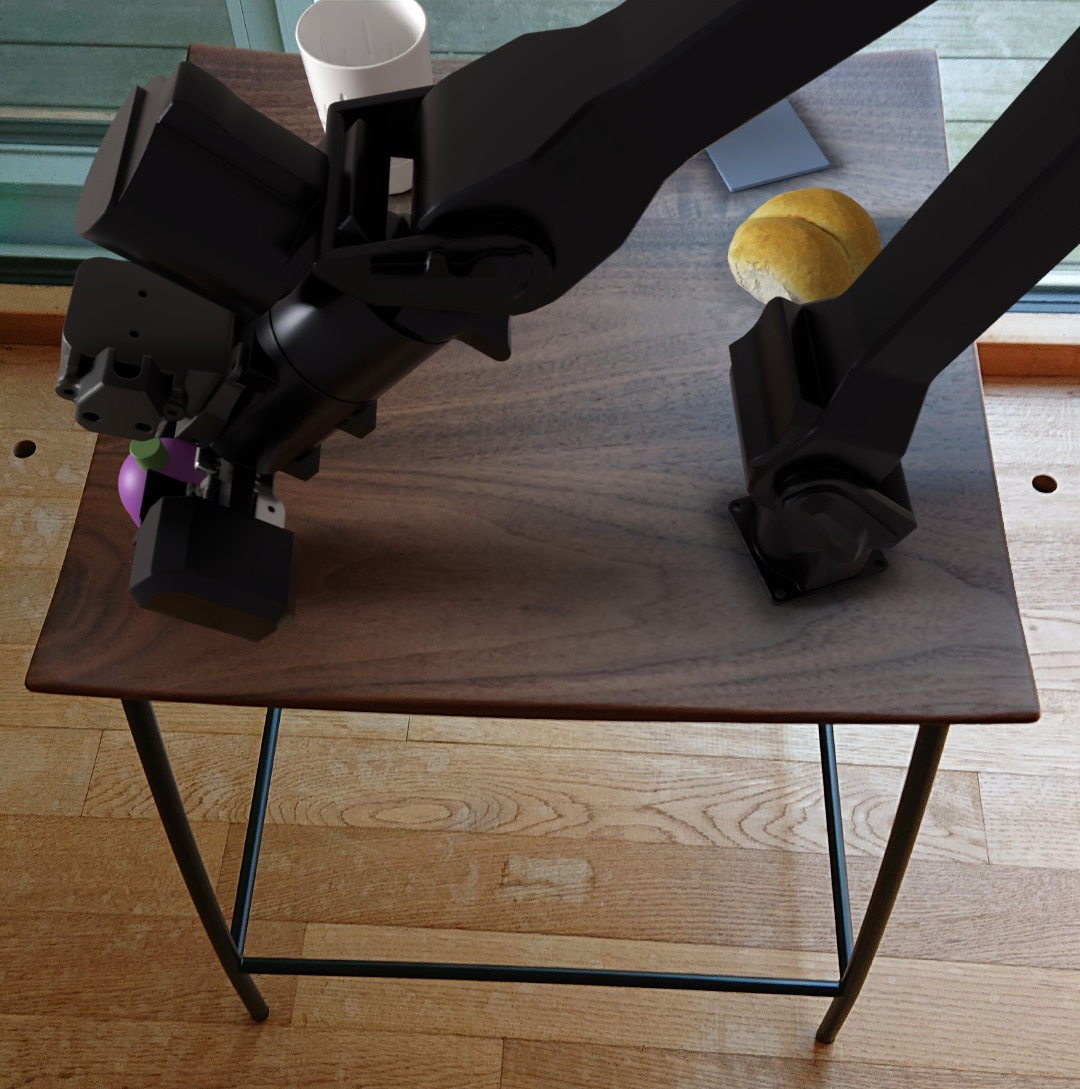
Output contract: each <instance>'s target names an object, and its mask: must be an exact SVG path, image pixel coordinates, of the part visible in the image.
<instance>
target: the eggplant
mask: <svg viewBox="0 0 1080 1089" xmlns="http://www.w3.org/2000/svg"><path fill="white" fill-rule="evenodd" d="M196 450H197V447H196V446H193V445H191V444H189V443H186V442H184V441H181V440H179V439H175V438H159V437H158V436H157V437H156V438H154V439H151V440H147V441H136V440H132V441H131V442H130V445H129V454H128V456H127V457H126V459H125V460H124V462H123V464H122V465H121V467H120V471H119V475H118V481H117V482H118V483H117V484H118V485H117V486H118V493H119V497H120V500H121V503H122V505H123V507H124V508H125V510H126V511H127V513H128V514H129V516H130V518H131V519H132V520H133V522H134V524H135V525H136V526H137V529H138V528H139V527H140V523H139V514H140V508H141V503H142V497H143V492H144V486H145V480H146V475H147V470H148V469H151V470H154V471H157V472H159V473H162V474H165V475H167V476H170V477H172V478H175V479H178V480H180V481H183V482H185V483H188V484H189V483H195V484H197V485H198V486H199V488H200V484H201V481H202V480H204V479H205V478H206V477H207V475H205V474H202V473H200V472H198V471H197V470H196V469H195V467H194V463H195V456H196Z"/></svg>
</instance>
